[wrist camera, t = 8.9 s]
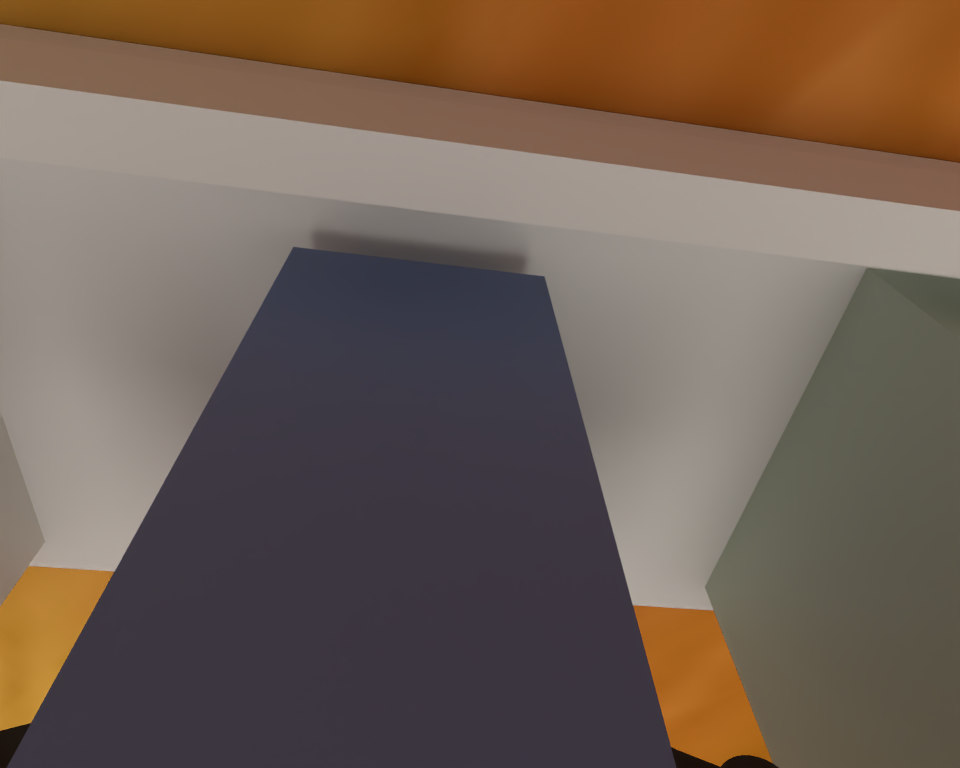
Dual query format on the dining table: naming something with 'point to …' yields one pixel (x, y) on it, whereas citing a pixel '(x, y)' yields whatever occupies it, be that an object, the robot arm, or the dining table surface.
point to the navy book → (371, 552)
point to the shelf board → (424, 238)
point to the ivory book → (15, 519)
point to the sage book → (858, 545)
